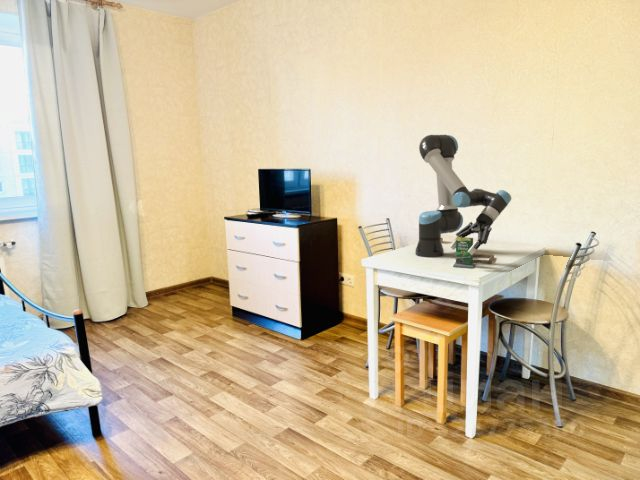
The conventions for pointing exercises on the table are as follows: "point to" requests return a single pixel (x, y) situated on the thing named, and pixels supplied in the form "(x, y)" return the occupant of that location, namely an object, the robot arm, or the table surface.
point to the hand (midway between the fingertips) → (460, 250)
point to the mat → (463, 265)
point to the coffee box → (464, 250)
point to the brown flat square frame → (483, 257)
